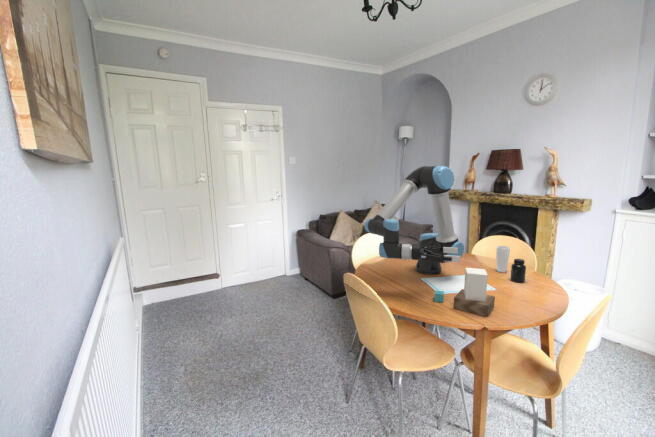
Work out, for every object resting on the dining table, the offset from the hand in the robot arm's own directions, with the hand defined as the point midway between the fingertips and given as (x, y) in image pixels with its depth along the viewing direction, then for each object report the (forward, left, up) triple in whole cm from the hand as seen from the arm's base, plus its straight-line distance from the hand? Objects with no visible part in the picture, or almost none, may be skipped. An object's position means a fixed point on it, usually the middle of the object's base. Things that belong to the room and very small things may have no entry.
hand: (458, 254), depth 142 cm
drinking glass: (+9, +58, -23) cm, 63 cm away
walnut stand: (+9, -3, -22) cm, 24 cm away
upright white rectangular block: (+9, -3, -17) cm, 20 cm away
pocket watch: (-26, +57, -23) cm, 67 cm away
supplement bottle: (+19, +46, -23) cm, 54 cm away
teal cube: (-6, -5, -22) cm, 24 cm away
